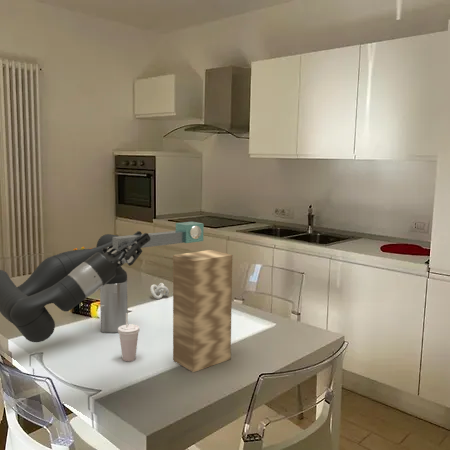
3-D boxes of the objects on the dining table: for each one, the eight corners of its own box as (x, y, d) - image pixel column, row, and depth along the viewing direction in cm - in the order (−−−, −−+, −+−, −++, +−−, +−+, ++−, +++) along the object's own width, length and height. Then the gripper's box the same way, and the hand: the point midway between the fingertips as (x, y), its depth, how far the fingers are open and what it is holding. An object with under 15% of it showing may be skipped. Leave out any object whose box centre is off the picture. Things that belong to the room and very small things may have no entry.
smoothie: (119, 354, 145) (119, 310, 143) (140, 354, 146) (140, 310, 144) (116, 363, 139) (116, 317, 137) (138, 363, 140) (138, 317, 138)
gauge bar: (121, 251, 117) (121, 231, 116) (110, 248, 121) (110, 228, 120) (204, 241, 134) (204, 223, 133) (192, 238, 138) (192, 221, 137)
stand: (193, 372, 134) (194, 261, 130) (173, 360, 142) (173, 255, 137) (230, 359, 143) (232, 255, 139) (209, 348, 151) (210, 249, 146)
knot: (171, 295, 209) (171, 282, 208) (166, 300, 201) (166, 287, 200) (155, 294, 210) (154, 281, 209) (149, 299, 202) (148, 286, 201)
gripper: (97, 268, 109) (153, 226, 117) (72, 258, 119) (125, 220, 128) (112, 293, 112) (165, 250, 121) (86, 281, 123) (137, 242, 131)
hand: (144, 235), depth 124 cm, fingers closed on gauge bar, 3 cm apart
